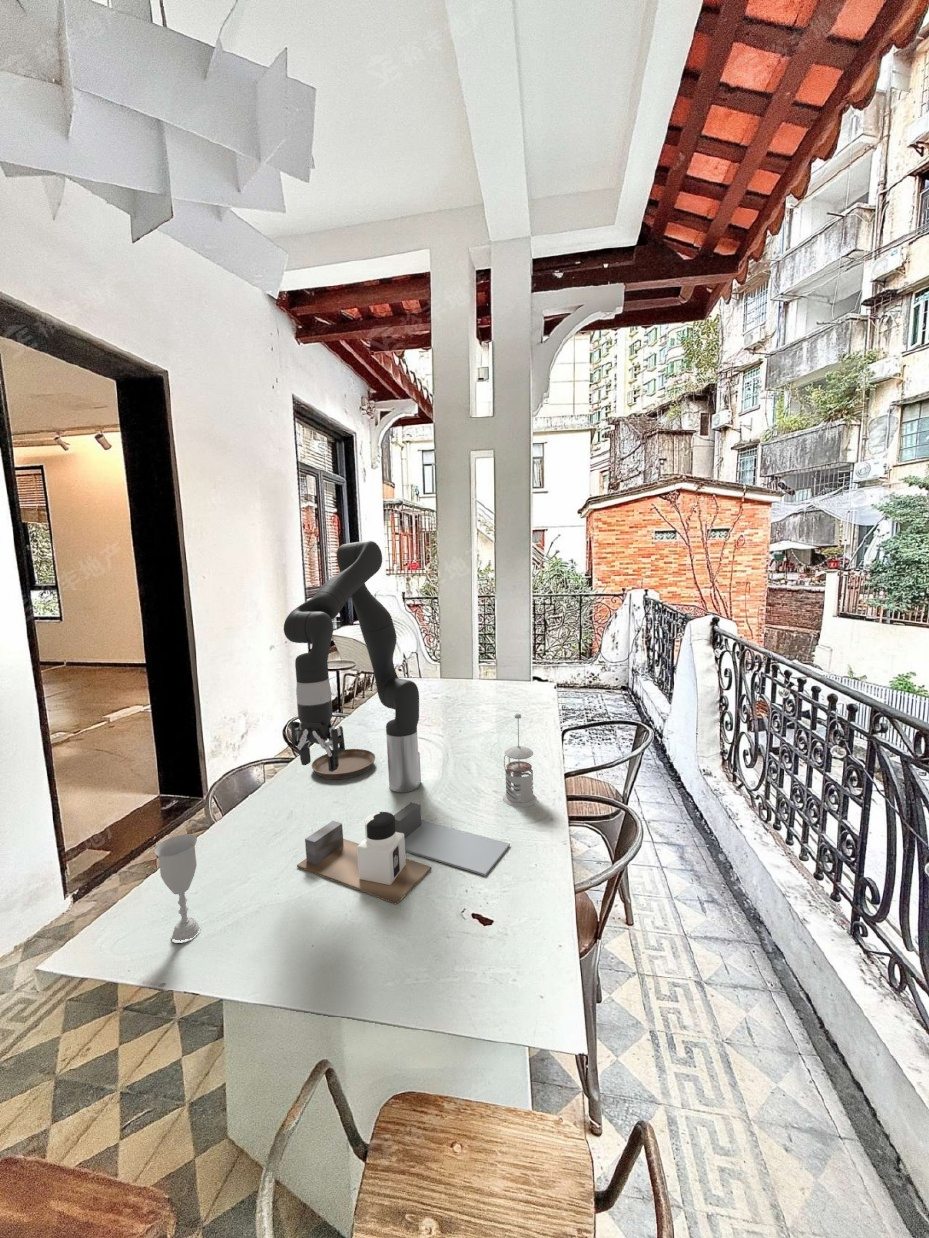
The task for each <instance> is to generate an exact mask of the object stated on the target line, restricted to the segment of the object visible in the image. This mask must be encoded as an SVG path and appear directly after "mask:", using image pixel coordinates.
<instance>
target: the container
mask: <svg viewBox="0 0 929 1238" xmlns="http://www.w3.org/2000/svg"><path fill="white" fill-rule="evenodd" d="M394 815H395V814H392V813H391V812H388V811H378V812H374V813H371V814H369V815H368V816H367V817H366V818H365V820H364V835H365V838H364V839H362V841H361V842H360V843H358V844H359V845H358V846H357V854H358V869H359V879H361V880H366V881H371V882H376V883H381V884H386V885H391V884H392V883H393V881H394V880H395V878H396V877H397V876H398V874H399V873H400V872H401V870H402V869H403V868H404V866H405V865H406V859H407V858H406V851H405V840H404V834H403V833H399V832H396V826H395V817H394ZM405 858H406V859H405Z"/></svg>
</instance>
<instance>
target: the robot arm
mask: <svg viewBox="0 0 929 1238" xmlns="http://www.w3.org/2000/svg"><path fill="white" fill-rule="evenodd" d="M382 554H383V553H382V551H381V548H380V546H379V545H378V543H377V542H375V541H373V540H359V541H355V542H349V543H344V544H341V545H340V546H339V547H338V548H337V550H336V560H337V561H336V562H337V566H338V569H339V573H338V574H336V575H334V576H332V577H331V578H329V579H328V580H327V581H326V582H325V583H323V584H322V585H321V586H320V587H319V589H317V591H316V592H315V594H313V596H312V597H311V598H310V599H308V600H306V601H304V602H303V603H302V604H299V606H297V607H295V608H294V609H293V610H291V612H290V613H289V614H288V615H287V617H286V618H285V620H284V622H283V623H284V624H283V633H284V636H285V637H286V639H287V640H288V641H290V642H291V643H295V644H311V649H310V651H308V652H304V653H301V654H299V655H296V657H295V659H294V665H295V666H294V667H295V678H296V680H295V681H296V689H295V692H296V694H295V695H296V706H297V716H298V717H297V718H298V719H296V720H293V721H292V722H290V728H291V731H290V732H291V745H292V747H297V749H298V750H299V759H300V763H301V765H302V766H307V765H309V764H311V761H312V759H311V751H310V747H309V746H310V745H311V744H313V743H315V744H317V745H320V747H321V749H324V750H325V753H326V754H328V755H329V756H328V767H329V771H331V772H333V771H335V770H336V769H337V768H338V766H339V762H338V754H339V753H341V752H343V751H345V749H346V746H345V736H344V730H343V729H344V727H343V726H342V725H338V726H333V725H332V722H331V721H332V718H333V703H332V702H333V701H332V691H331V690H332V689H331V683H330V677H329V665H328V664H329V663H328V662H329V661H328V660H329V655H330V648H331V642H332V638H333V633H334V623H333V620H335V618H336V617H337V616H338V615H339V613H340V612H341V610H342V609H343V608H344V606H345V605H346V603H347V602H348V601H349V600H350V598H351V601H352V604H353V607H354V610H355V614H356V617H357V620H358V625H359V628H360V632H361V634H362V638H363V641H364V643H365V647H366V649H367V653H368V657H369V660H370V662H371V663H370V664H371V666H372V671H373V675H374V680H375V685H376V686H375V687H376V691H377V695H378V699H379V700H380V703H381V704H382V705H383V706H384V707H386V708H388V709H391V710H395V711H394V714H395V715H394V716H395V717H394V718H393V719H390V720H389V721H387V723H386V725H385V730H386V731H385V735H386V748H387V749H386V751H387V752H386V753H387V768H388V769H387V770H388V771H387V772H388V785H389V789H390V791H392V792H394V793H408V792H414V791H415V790H416V789H418V788H419V787H420V785H421V784H420V783H421V782H422V773H421V770H422V769H421V754H420V752H419V742H418V741H419V740H418V725H419V724H418V723H419V720H420V693H419V688H418V686H417V684H416V683H415V682H414V681H412V680H408V679H404V678H400V677H399V676H398V674H397V671H396V668H395V664H394V653H395V651H396V650H395V649H396V646H397V632H396V628H395V625H394V621H393V617H392V615H391V613H390V612H389V611H388V609H387V608H386V607H385V606H384V605H383V604H382V603H381V602H380V601H379V600H378V599H377V598H376V597H375V596H374V595H373V594H372V593H371V592H370V590H369V588H368V587H367V585H366V582H368V581H369V580H370V579H371V578H372V577H373V576H374V575H375V574H377V573H378V572H379V571H380V569H381V567H382V564H383V555H382Z"/></svg>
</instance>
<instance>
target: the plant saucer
mask: <svg viewBox="0 0 929 1238" xmlns="http://www.w3.org/2000/svg"><path fill="white" fill-rule="evenodd" d="M328 756H329V755H328V754H327V753H325V754H322V755H320V756H319V757H317V758H315V759H314V760H313V761H312V763H311V769H312V771H314V773H316V775H318V776H319V777H321V778H324V779H328V780H345V779H346V780H347V779H350V778H355V777H357V776H360V775H362V774H363V773H365V772H367V771H368V770H369V769H370V768H371V767H372V765H373V764H374V762H375V761H376V755H375V754H374V753H373V752H372V751H371V750H366V749H361V748H360V749H359V748H349V749H347V748H345V751H343V752H341V753H339V754H338V762H339V766H338V768H337V769H336V770H335V771H333V772H331V771H329V767H328Z"/></svg>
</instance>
